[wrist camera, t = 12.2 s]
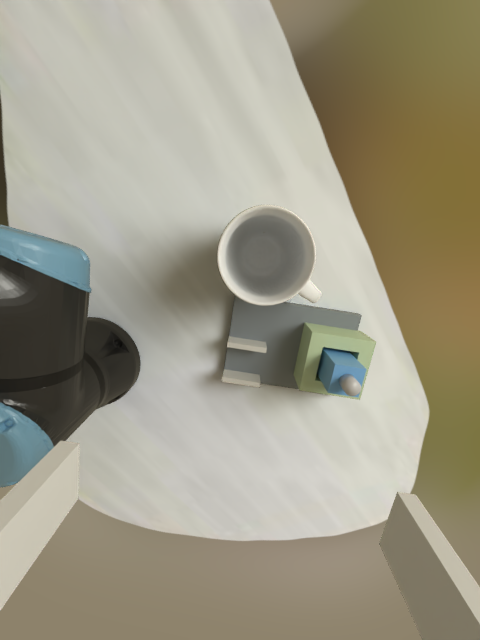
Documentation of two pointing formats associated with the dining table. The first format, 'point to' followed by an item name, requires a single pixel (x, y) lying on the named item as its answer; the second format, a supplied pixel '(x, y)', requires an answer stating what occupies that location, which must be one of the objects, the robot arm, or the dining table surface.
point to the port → (330, 338)
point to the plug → (340, 372)
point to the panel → (273, 340)
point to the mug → (268, 256)
